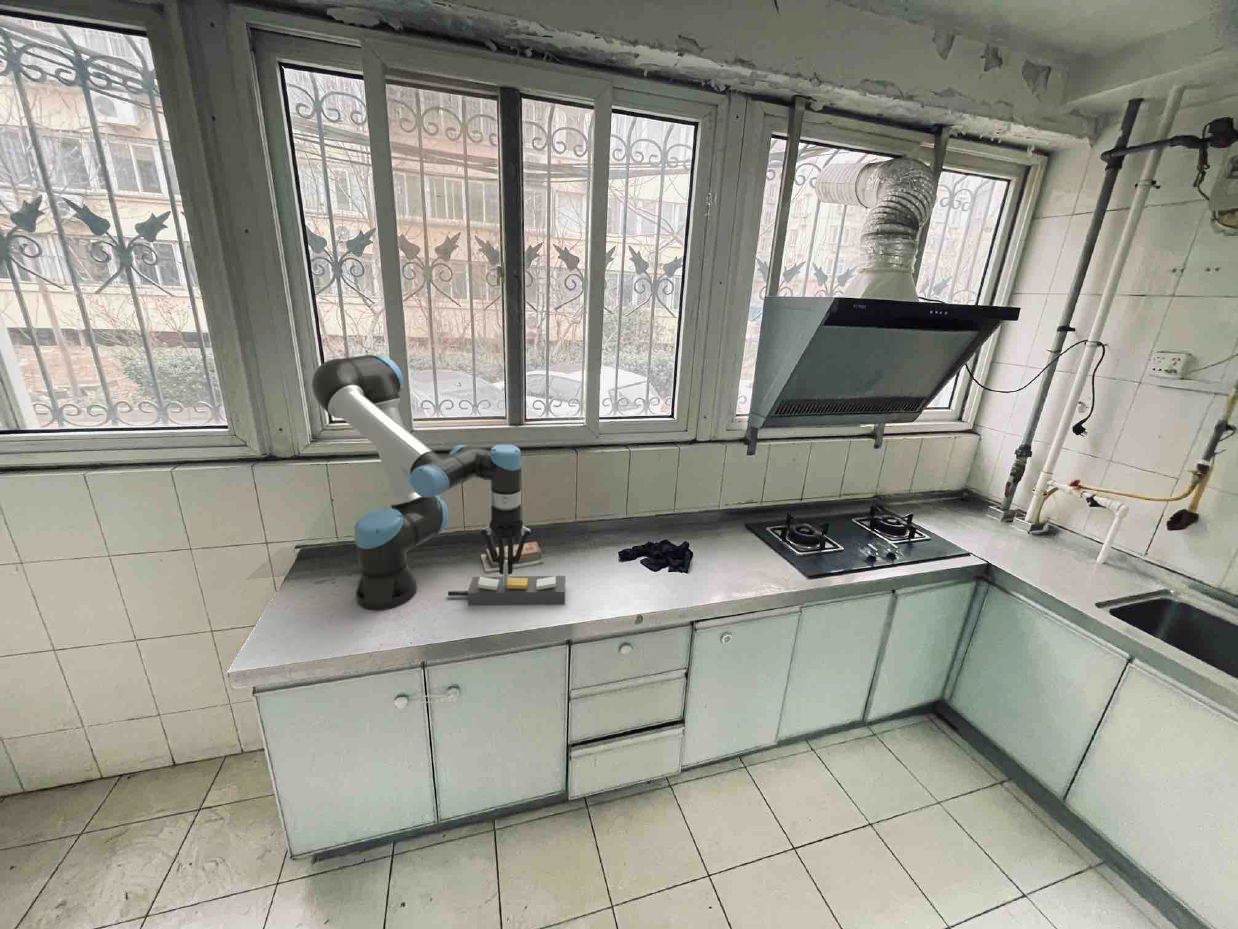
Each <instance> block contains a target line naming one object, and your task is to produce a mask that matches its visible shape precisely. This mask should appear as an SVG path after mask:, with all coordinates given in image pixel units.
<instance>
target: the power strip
mask: <svg viewBox="0 0 1238 929" xmlns="http://www.w3.org/2000/svg"><path fill="white" fill-rule="evenodd" d="M554 576H556V587H550V588H545V589H539V590H537V588H536V584H537V579H542V578H548V577H554ZM480 577H481V576H472V579H471V581H470V584H469V588H468V590H463V591H461V590H459V591H458V590H455V591H454V590H452V591H451V590H450V591H448V592H447V595H448V596H449V597H453V596H454V597H456V596H457V597H459V596H461V597H465V596H466V597H467V606H469V607H472V606H532V605H533V606H538V605H544V606H546V605H565V604H566V575H529V576H528V575H527V576H526V575H523V576H522V575H513V576H512V575H511V576H510V575H509V578H528V583H527V589H518V588H507V586H503V576H483V577H484V578H491V579H497V580H499V583H498V587H497V590H491V589H485V588H478V587H477V586H478V582H479V579H480Z"/></svg>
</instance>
